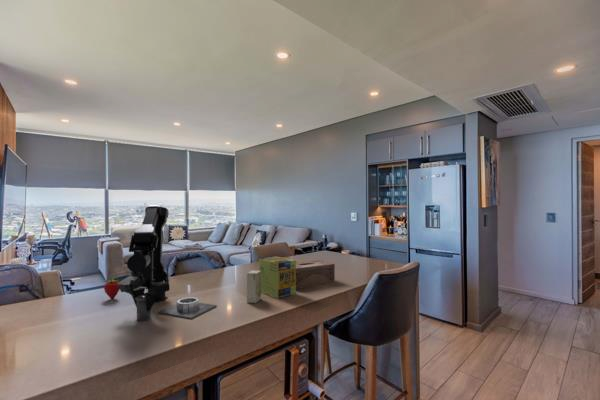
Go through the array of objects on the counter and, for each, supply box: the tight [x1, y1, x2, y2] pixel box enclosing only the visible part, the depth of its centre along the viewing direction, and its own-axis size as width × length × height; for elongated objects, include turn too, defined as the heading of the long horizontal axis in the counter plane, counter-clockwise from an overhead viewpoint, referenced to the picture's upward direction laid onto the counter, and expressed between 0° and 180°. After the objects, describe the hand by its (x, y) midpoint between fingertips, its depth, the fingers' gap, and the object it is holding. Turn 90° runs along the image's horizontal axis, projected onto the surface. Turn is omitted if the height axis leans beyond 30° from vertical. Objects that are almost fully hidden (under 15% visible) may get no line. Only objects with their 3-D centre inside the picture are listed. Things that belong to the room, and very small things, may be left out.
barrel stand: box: [157, 296, 218, 320], centre depth 113 cm, size 16×14×4 cm
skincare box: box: [246, 269, 262, 304], centre depth 124 cm, size 6×4×12 cm
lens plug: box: [136, 295, 152, 322], centre depth 104 cm, size 5×5×8 cm
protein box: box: [258, 256, 297, 300], centre depth 136 cm, size 10×15×16 cm
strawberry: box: [103, 276, 120, 300], centre depth 127 cm, size 6×8×10 cm
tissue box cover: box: [296, 259, 336, 290], centre depth 154 cm, size 26×14×10 cm, turn 119°
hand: (143, 310), depth 104 cm, fingers closed on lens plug, 4 cm apart
